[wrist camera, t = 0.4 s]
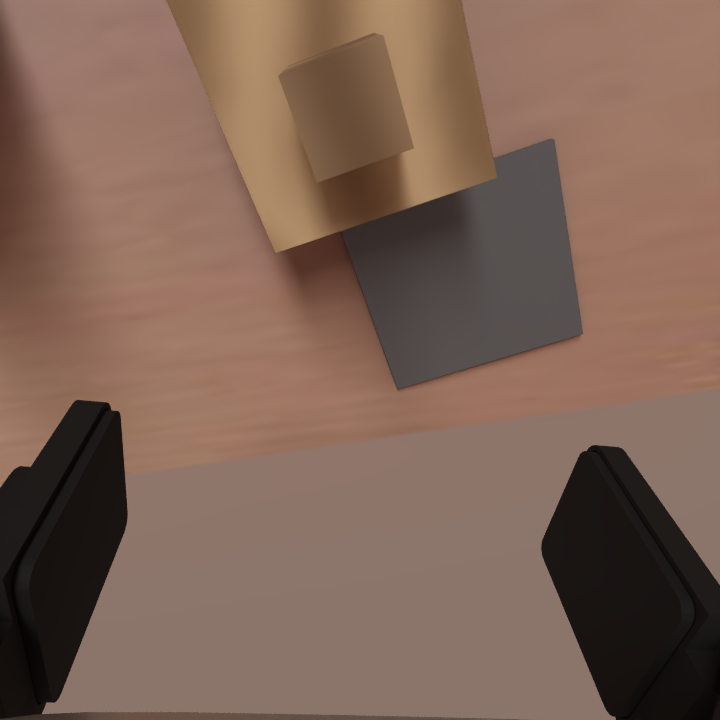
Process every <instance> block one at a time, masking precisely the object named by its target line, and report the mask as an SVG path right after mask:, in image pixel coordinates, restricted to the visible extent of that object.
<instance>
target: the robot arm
mask: <svg viewBox="0 0 720 720" xmlns="http://www.w3.org/2000/svg"><path fill="white" fill-rule="evenodd" d="M125 485H126V484H125V471H124V457H123V443H122V429H121V417H120V413H119V412H118V411H111V407H110V405H109V403H106V402H95V401H83V400H76V401H75V402H74V403H73V404H72V405H71V407H70V408H69V410H68V411H67V413H66V414H65V416H64V418H63V419H62V421H61V422H60V424H59V425H58V427H57V428H56V430H55V431H54V433H53V434H52V436H51V437H50V439H49V440H48V442H47V443H46V445H45V446H44V448H43V449H42V451H41V452H40V454H39V455H38V457H37V458H36V460H35V461H34V463H33V464H32V466H31V467H24V466H20V467H18V468H16V469H14V470H13V472H12V473H11V474H10V475H9V476H8V478H7V479H6V481H5V482H4V484H3V485H2V486H1V488H0V720H518V719H482V718H441V717H440V718H439V717H399V716H354V715H308V714H307V715H306V714H252V713H251V714H250V713H198V712H196V713H195V712H193V713H192V712H83V713H61V714H42V712H43V709H44V707H45V704H46V702H56V701H57V700H58V698H59V697H60V694H61V692H62V690H63V687H64V684H65V682H66V680H67V677H68V675H69V672H70V669H71V667H72V664H73V662H74V659H75V657H76V654H77V652H78V649H79V647H80V644H81V641H82V639H83V636H84V634H85V631H86V628H87V626H88V624H89V621H90V618H91V616H92V613H93V611H94V608H95V606H96V603H97V600H98V598H99V595H100V592H101V590H102V587H103V585H104V583H105V580H106V578H107V575H108V572H109V570H110V567H111V565H112V562H113V560H114V557H115V554H116V552H117V549H118V547H119V544H120V542H121V539H122V537H123V534H124V531H125V527H126V523H127V515H128V514H127V498H126V486H125ZM541 550H542V556H543V559H544V561H545V564H546V566H547V569H548V571H549V573H550V576H551V578H552V581H553V583H554V586H555V588H556V590H557V593H558V595H559V597H560V600H561V603H562V605H563V607H564V610H565V612H566V615H567V617H568V620H569V622H570V624H571V627H572V629H573V632H574V634H575V636H576V639H577V641H578V643H579V646H580V649H581V651H582V653H583V656H584V658H585V661H586V663H587V666H588V668H589V670H590V672H591V675H592V678H593V680H594V682H595V684H596V687H597V690H598V692H599V695H600V697H601V699H602V702H603V704H604V706H605V708H606V710H607V712H608V713H609V714H610V715H611V716H615V717H616V720H720V585H719V584H718V582H717V581H716V579H715V578H714V577H713V575H712V574H711V572H710V571H709V569H708V568H707V567H706V565H705V564H704V563H703V561H702V560H701V558H700V557H699V555H698V554H697V552H696V551H695V550H694V548H693V547H692V546H691V544H690V543H689V541H688V540H687V538H686V537H685V536H684V534H683V533H682V531H681V530H680V528H679V527H678V526H677V524H676V523H675V521H674V520H673V519H672V517H671V516H670V514H669V513H668V512H667V510H666V509H665V507H664V506H663V505H662V503H661V502H660V500H659V499H658V497H657V496H656V495H655V493H654V492H653V490H652V489H651V488H650V486H649V485H648V483H647V482H646V480H645V479H644V478H643V476H642V475H641V473H640V472H639V471H638V469H637V468H636V466H635V465H634V464H633V462H632V461H631V459H630V458H629V457H628V455H627V454H626V452H625V451H624V450H623V449H622V448H619V447H610V446H598V445H593V446H591V447H590V448H588V450H587V451H584V452H582V453H581V454H580V456H579V458H578V460H577V462H576V464H575V466H574V469H573V471H572V473H571V476H570V478H569V480H568V483H567V485H566V487H565V489H564V492H563V494H562V496H561V499H560V501H559V503H558V505H557V508H556V510H555V512H554V515H553V517H552V519H551V521H550V524H549V526H548V528H547V531H546V533H545V535H544V538H543V540H542V548H541Z"/></svg>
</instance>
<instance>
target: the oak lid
mask: <svg viewBox="0 0 720 720" xmlns="http://www.w3.org/2000/svg"><path fill="white" fill-rule="evenodd" d="M167 3H168V5H169V7H170V10H171V12H172V14H173V17H174V19H175V21H176V23H177V26H178V28H179V30H180V33H181V35H182V37H183V40H184V42H185V44H186V47H187V49H188V51H189V54H190V56H191V58H192V61H193V63H194V65H195V67H196V70H197V72H198V74H199V77H200V79H201V81H202V84H203V86H204V88H205V91H206V93H207V95H208V98H209V100H210V102H211V105H212V107H213V109H214V112H215V114H216V116H217V118H218V121H219V123H220V125H221V128H222V130H223V132H224V135H225V137H226V139H227V142H228V144H229V146H230V149H231V151H232V153H233V156H234V158H235V160H236V162H237V165H238V167H239V169H240V172H241V174H242V176H243V179H244V181H245V183H246V186H247V188H248V190H249V193H250V195H251V197H252V200H253V202H254V204H255V207H256V209H257V211H258V213H259V216H260V218H261V220H262V223H263V225H264V227H265V230H266V232H267V234H268V237H269V239H270V241H271V244H272V246H273V248H274V251H275V253H278V252H281V251H284V250H286V249H289V248H292V247H295V246H298V245H301V244H304V243H307V242H310V241H313V240H316V239H319V238H322V237H325V236H328V235H331V234H333V233H336V232H339V231H342V230H345V229H348V228H351V227H354V226H357V225H360V224H363V223H366V222H369V221H372V220H375V219H378V218H380V217H383V216H386V215H389V214H392V213H395V212H398V211H401V210H404V209H407V208H410V207H413V206H416V205H419V204H422V203H425V202H427V201H430V200H433V199H436V198H439V197H442V196H445V195H448V194H451V193H454V192H457V191H460V190H463V189H466V188H469V187H472V186H474V185H477V184H480V183H483V182H486V181H489V180H492V179H495V178H497V174H496V169H495V164H494V159H493V154H492V149H491V144H490V139H489V134H488V130H487V125H486V120H485V115H484V110H483V105H482V100H481V95H480V90H479V85H478V80H477V76H476V71H475V66H474V61H473V56H472V51H471V46H470V41H469V36H468V31H467V27H466V22H465V17H464V12H463V7H462V2H461V0H167Z"/></svg>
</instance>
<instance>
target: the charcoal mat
mask: <svg viewBox="0 0 720 720" xmlns="http://www.w3.org/2000/svg"><path fill="white" fill-rule="evenodd" d="M494 164H495V169H496V174H497V178H495V179H492V180H489V181H486V182H483V183H480V184H477V185H474V186H472V187H469V188H466V189H463V190H460V191H457V192H454V193H451V194H448V195H445V196H442V197H439V198H436V199H433V200H430V201H427V202H425V203H422V204H419V205H416V206H413V207H410V208H407V209H404V210H401V211H398V212H395V213H392V214H389V215H386V216H383V217H380V218H378V219H375V220H372V221H369V222H366V223H363V224H360V225H357V226H354V227H351V228H348V229H345V230H342V231H341V234H342V236H343V239H344V242H345V245H346V248H347V250H348V253H349V256H350V259H351V261H352V264H353V267H354V270H355V272H356V275H357V278H358V281H359V283H360V286H361V289H362V292H363V295H364V297H365V300H366V303H367V306H368V308H369V311H370V314H371V317H372V319H373V322H374V325H375V328H376V330H377V333H378V336H379V339H380V342H381V344H382V347H383V350H384V353H385V355H386V358H387V361H388V364H389V366H390V369H391V372H392V375H393V377H394V380H395V383H396V386H397V389H400V388H403V387H407V386H410V385H414V384H417V383H420V382H424V381H427V380H430V379H434V378H437V377H440V376H444V375H447V374H450V373H454V372H457V371H460V370H464V369H467V368H470V367H474V366H477V365H480V364H484V363H487V362H490V361H494V360H497V359H501V358H504V357H507V356H511V355H514V354H517V353H521V352H524V351H527V350H531V349H534V348H537V347H541V346H544V345H547V344H551V343H554V342H557V341H561V340H564V339H567V338H571V337H574V336H577V335H581V334H583V331H582V324H581V317H580V310H579V303H578V297H577V290H576V283H575V276H574V270H573V263H572V256H571V249H570V243H569V236H568V229H567V222H566V216H565V209H564V202H563V195H562V189H561V182H560V175H559V168H558V161H557V155H556V148H555V141H554V140H553V139H549V140H546V141H543V142H540V143H537V144H534V145H532V146H529V147H526V148H523V149H520V150H517V151H514V152H511V153H508V154H505V155H503V156H500V157H497V158H494Z"/></svg>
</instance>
